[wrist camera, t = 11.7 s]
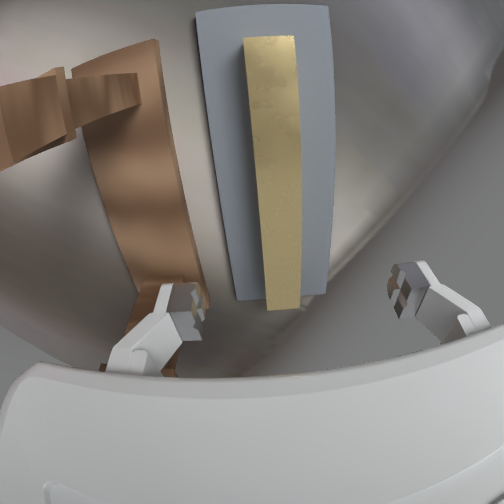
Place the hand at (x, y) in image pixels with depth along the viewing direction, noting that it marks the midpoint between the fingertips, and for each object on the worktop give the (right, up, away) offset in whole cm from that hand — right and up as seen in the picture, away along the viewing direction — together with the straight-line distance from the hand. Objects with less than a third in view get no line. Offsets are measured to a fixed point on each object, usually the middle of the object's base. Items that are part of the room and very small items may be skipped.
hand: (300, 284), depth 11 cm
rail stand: (-11, +6, +11) cm, 17 cm away
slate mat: (0, +8, +10) cm, 13 cm away
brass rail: (0, +6, +10) cm, 12 cm away
